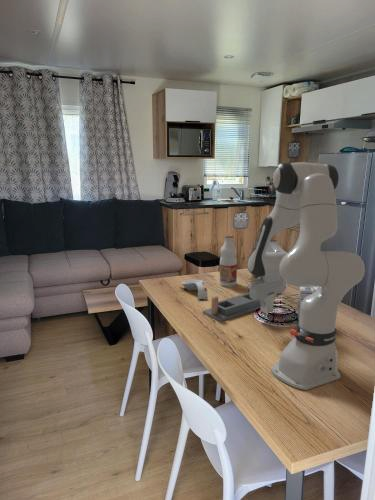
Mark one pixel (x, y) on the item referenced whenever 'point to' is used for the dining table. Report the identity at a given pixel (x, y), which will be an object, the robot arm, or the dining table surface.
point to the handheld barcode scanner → (196, 287)
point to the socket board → (231, 307)
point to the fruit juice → (228, 262)
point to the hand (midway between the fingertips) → (267, 304)
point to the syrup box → (303, 296)
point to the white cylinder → (268, 303)
